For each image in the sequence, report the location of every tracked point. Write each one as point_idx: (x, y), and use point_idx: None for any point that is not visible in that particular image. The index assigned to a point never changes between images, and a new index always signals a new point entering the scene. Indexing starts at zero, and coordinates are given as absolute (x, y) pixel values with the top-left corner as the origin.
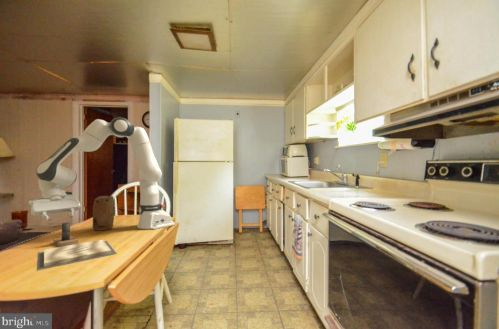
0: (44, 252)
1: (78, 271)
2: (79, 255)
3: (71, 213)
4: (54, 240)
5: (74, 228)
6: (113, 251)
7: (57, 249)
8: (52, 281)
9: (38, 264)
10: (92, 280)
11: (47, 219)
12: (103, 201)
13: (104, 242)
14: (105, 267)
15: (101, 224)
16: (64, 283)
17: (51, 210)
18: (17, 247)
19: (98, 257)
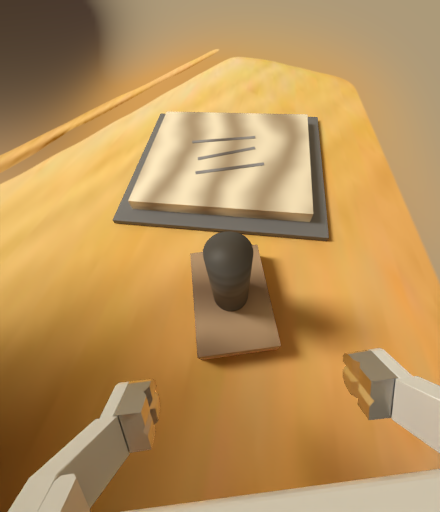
0: (310, 182)
1: (248, 91)
2: (234, 116)
3: (120, 405)
4: (275, 325)
5: None
6: (157, 127)
7: (274, 188)
8: (289, 81)
9: (317, 143)
10: (239, 62)
11: (375, 349)
12: None
13: (142, 170)
14: (207, 84)
15: None
16: (274, 70)
17: (416, 476)
18: None
19: None
